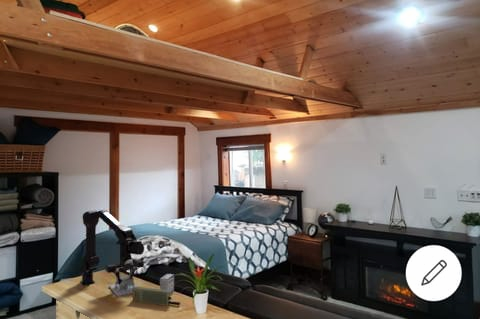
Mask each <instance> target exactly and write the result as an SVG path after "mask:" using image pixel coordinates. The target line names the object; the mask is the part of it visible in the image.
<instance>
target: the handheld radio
mask: <svg viewBox="0 0 480 319" xmlns="http://www.w3.org/2000/svg"><path fill="white" fill-rule="evenodd" d="M170 292H171V291H170V290H161V289H160V288H152V287H144V286H143V287H142V286H138V287H136V286H134V287H133V288H132V293H131V294H132V296H131V297H132V301H133V302H138V303H147V304H153V305H160V306H161V305H162V306H169V305H175V306H181V302H179V301H171V300H172V297H171V295H172V293H170Z"/></svg>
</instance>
